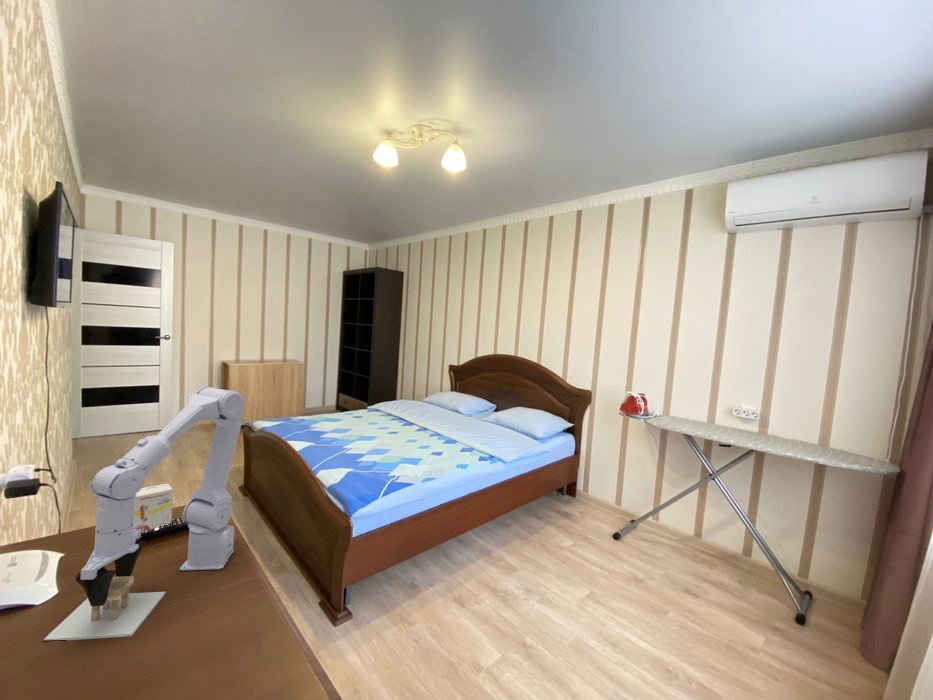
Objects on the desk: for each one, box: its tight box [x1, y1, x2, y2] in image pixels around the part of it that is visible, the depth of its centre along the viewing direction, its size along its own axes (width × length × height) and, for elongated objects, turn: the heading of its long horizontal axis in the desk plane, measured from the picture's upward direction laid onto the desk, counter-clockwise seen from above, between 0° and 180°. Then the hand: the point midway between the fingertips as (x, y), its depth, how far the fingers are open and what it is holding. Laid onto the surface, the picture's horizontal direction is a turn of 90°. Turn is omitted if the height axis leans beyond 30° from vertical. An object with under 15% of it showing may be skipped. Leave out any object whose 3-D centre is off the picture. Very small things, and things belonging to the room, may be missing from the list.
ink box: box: [133, 483, 174, 531], centre depth 110 cm, size 9×5×12 cm, turn 141°
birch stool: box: [88, 575, 134, 621], centre depth 79 cm, size 5×5×6 cm
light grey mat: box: [43, 591, 167, 641], centre depth 79 cm, size 14×12×1 cm
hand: (111, 591), depth 79 cm, fingers open, 7 cm apart
